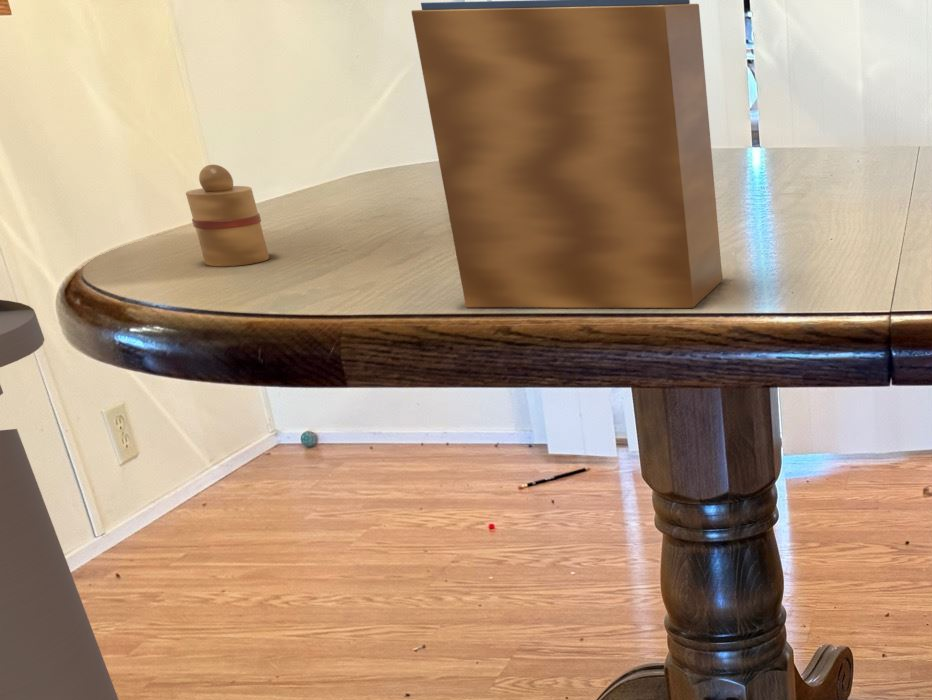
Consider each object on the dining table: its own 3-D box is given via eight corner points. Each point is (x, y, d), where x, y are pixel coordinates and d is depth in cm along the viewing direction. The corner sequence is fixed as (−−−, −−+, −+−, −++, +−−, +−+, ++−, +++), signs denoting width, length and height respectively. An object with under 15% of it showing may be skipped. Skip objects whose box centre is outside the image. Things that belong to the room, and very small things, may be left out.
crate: (465, 307, 85) (410, 10, 76) (513, 280, 93) (468, 8, 84) (693, 308, 83) (664, 5, 75) (722, 280, 91) (699, 3, 82)
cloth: (421, 10, 77) (420, 2, 76) (472, 8, 83) (471, 1, 83) (658, 5, 75) (657, -3, 75) (690, 3, 82) (689, -3, 82)
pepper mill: (198, 268, 99) (170, 169, 96) (210, 257, 104) (183, 162, 100) (266, 264, 101) (241, 166, 97) (274, 253, 105) (250, 159, 101)
